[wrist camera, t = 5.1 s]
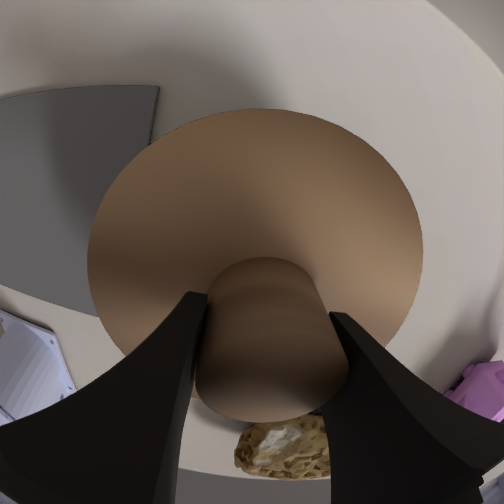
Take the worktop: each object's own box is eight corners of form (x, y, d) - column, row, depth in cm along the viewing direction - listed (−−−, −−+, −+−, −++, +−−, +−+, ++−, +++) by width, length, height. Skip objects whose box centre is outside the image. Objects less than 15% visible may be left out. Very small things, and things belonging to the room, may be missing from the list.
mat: (142, 324, 18) (140, 327, 17) (-2, 280, 16) (-4, 282, 16) (159, 87, 11) (157, 86, 11) (-13, 103, 10) (-16, 104, 9)
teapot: (480, 326, 20) (528, 388, 11) (519, 329, 22) (554, 373, 13) (394, 427, 27) (415, 484, 18) (449, 415, 29) (470, 458, 20)
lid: (342, 395, 14) (362, 455, 10) (112, 371, 12) (89, 437, 8) (451, 175, 8) (530, 210, 5) (106, 89, 7) (20, 77, 3)
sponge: (233, 430, 27) (369, 460, 26) (222, 482, 19) (380, 502, 19) (286, 348, 24) (431, 394, 24) (287, 404, 16) (458, 435, 16)
